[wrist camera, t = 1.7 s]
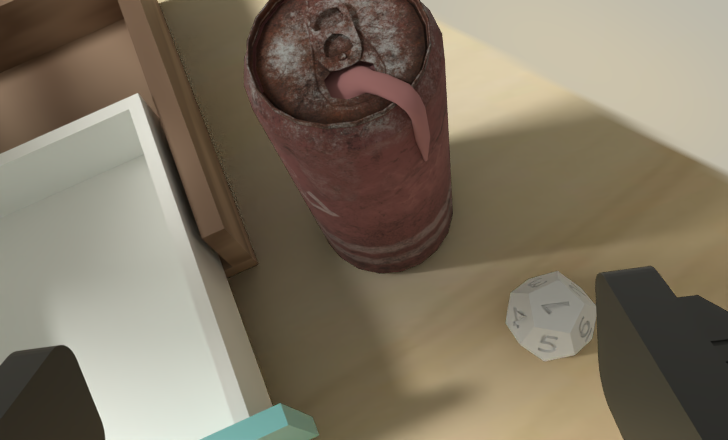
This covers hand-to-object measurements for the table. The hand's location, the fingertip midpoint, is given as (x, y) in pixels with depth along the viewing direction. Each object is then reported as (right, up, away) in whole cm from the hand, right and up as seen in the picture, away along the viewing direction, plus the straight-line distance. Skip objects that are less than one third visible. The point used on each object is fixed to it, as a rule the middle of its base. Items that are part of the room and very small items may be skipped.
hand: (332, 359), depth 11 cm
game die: (+8, -2, +20) cm, 22 cm away
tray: (-11, -3, +21) cm, 24 cm away
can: (+2, +2, +22) cm, 23 cm away
